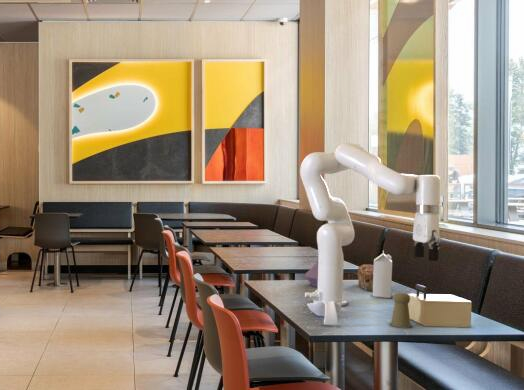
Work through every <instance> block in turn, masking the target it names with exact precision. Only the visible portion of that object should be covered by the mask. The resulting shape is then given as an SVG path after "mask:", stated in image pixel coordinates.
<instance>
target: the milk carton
mask: <svg viewBox="0 0 524 390" xmlns="http://www.w3.org/2000/svg"><path fill="white" fill-rule="evenodd" d="M384 252H385V251H384V250H382V253H381V254H380V255H379V256H377V257H375V258H374V259H373V265H374V272H373V291H372V297H375V298H386V299H391V298H392V280H393V279H392V277H393V260H392V259H393V258H392V255H390V254H389V253H387V254H386V253H384Z"/></svg>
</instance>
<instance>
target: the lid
mask: <svg viewBox="0 0 524 390" xmlns="http://www.w3.org/2000/svg"><path fill="white" fill-rule="evenodd" d="M414 287H415V289H416V293H407V294H408V295H409V296H410V297H411V298H413V299H415V300H418V301H420V302H423V303H452V304H472V303H473V302H472V301H471V300H468V299H466V298H463V297H459V296H457V295H456V294H455V295H454V294H444V293H443V294H442V293H439V294H438V293H427V292H428V291H429V288H428V287H427V286H424V285H421V284H418V283H416V284H415V286H414ZM420 291H422V292H423V293H420Z"/></svg>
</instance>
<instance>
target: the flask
mask: <svg viewBox="0 0 524 390" xmlns="http://www.w3.org/2000/svg"><path fill="white" fill-rule="evenodd" d="M303 275H304V276H305V278H306V279H307V281H308V282H309V283H310V284H311V286H312V287H316V288H317V287H318V257H317V259H316V262H315V264H314V265H313V266H312V267H311V268H310V269H309V270H308V271H306V273H304V274H303Z"/></svg>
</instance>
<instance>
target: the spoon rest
mask: <svg viewBox="0 0 524 390" xmlns="http://www.w3.org/2000/svg"><path fill="white" fill-rule="evenodd" d="M306 305H307V308H308V309H309V311H310V312H312V313H313V314H314V315H315V316H318V317H323V325H324V326H339V317H338V313H339V312H340V311H341V308H342V306H341V305H339V304H337V303H336V302H334V301H331V302H326V301H319V302H315V303H314V302H307V303H306Z"/></svg>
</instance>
